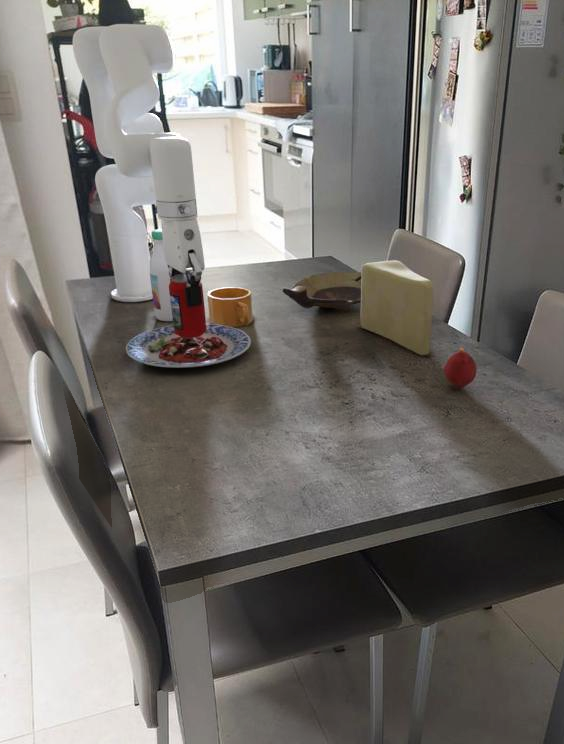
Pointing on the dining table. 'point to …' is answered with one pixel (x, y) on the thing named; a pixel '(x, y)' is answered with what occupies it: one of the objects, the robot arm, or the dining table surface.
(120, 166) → the robot arm
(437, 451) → the dining table surface
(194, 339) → the ceramic plate
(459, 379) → the onion
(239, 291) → the mug
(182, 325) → the beverage can
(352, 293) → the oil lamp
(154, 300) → the milk bottle
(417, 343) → the cheese
